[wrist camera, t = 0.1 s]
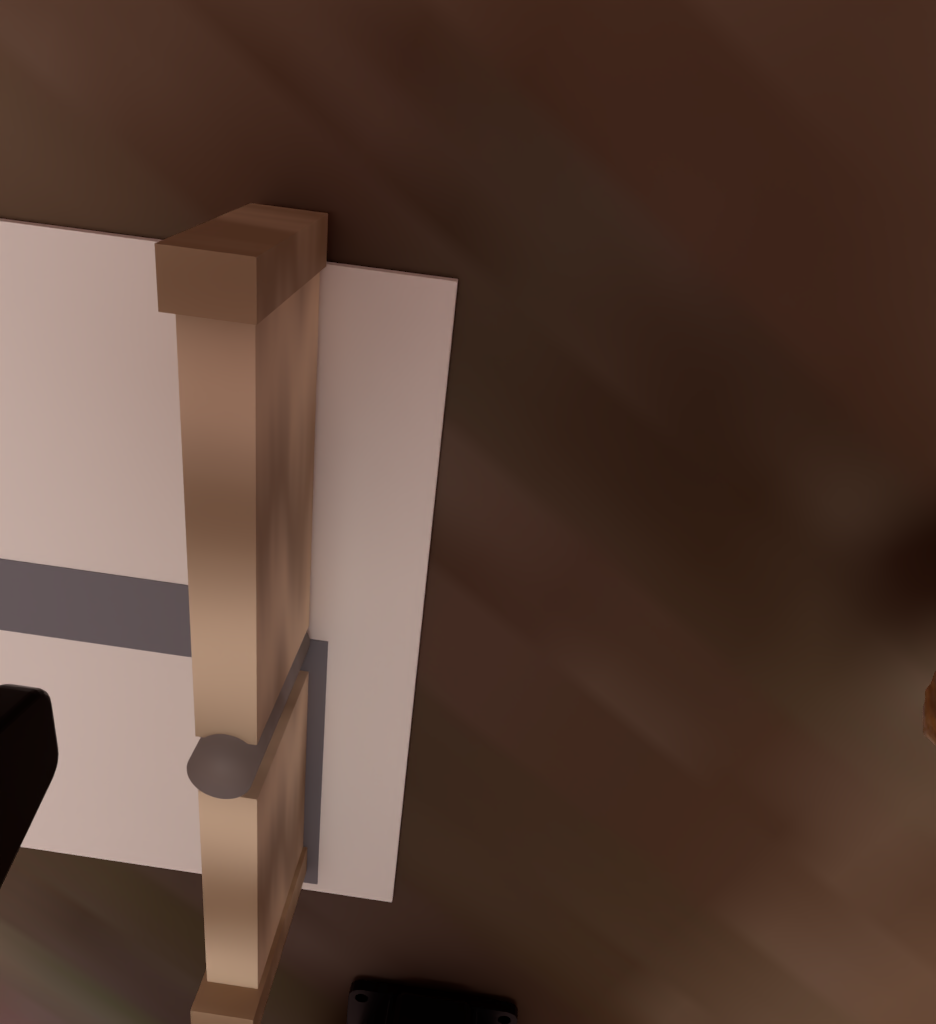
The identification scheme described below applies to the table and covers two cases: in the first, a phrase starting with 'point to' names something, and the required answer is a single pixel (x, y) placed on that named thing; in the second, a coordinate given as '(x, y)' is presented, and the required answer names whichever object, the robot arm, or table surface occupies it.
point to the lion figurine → (930, 711)
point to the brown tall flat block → (245, 469)
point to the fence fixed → (253, 874)
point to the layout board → (163, 554)
